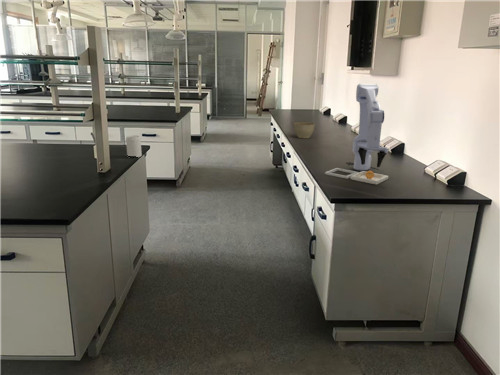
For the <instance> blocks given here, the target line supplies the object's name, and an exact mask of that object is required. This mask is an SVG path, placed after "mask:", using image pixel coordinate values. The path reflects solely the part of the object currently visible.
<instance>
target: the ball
mask: <svg viewBox="0 0 500 375" xmlns="http://www.w3.org/2000/svg"><path fill="white" fill-rule="evenodd" d="M365 172H366V174H365V176H366V178H367V179H372V178H373V177H374V173H375V172H373V171H372V170H368V171H367V170H366V171H365Z"/></svg>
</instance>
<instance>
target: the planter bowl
mask: <svg viewBox="0 0 500 375" xmlns="http://www.w3.org/2000/svg"><path fill="white" fill-rule="evenodd" d="M315 126H316V123H314V122H309V121H307V122H305V121H298V122H293V129H294V132H295V134H296V137H297V138H298V139H309V138H311V136H312V134H313V133H314V130H315Z"/></svg>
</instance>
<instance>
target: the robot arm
mask: <svg viewBox="0 0 500 375" xmlns="http://www.w3.org/2000/svg"><path fill="white" fill-rule="evenodd" d="M355 92H356V93H355V99H356V102H358V103H359V118H358V119H359V122H358V123H359V125H358V129H359V130H358V135H356V136H355V137H354V138H353V140H352V149H351V150H352V152H353V153H354V162H353V163H354V165H353V169H354V170H357V171H367V170H368V171H369V169H371V168H370V167H372V165H371V164H372V155H371V154H372V153H374V152H377V160H376V161H377V162H376V168H380V167H381V164H382V162H383V160H384V158H385V157H386V155H387V153H389V150H390V149H389V147H385V146H380V144H381V142H380V141H381V134H382V133H381V132H382V126H383V125H382V124H383V123H384V121H385V111H384V110H383V109H381V104H380V103H379V101H378V100H377V99H376V98H377V97H378V94H379V85H378V84H377V83H375V84H373V83H358V84H357V85H356V90H355ZM371 170H372V169H371Z"/></svg>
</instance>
